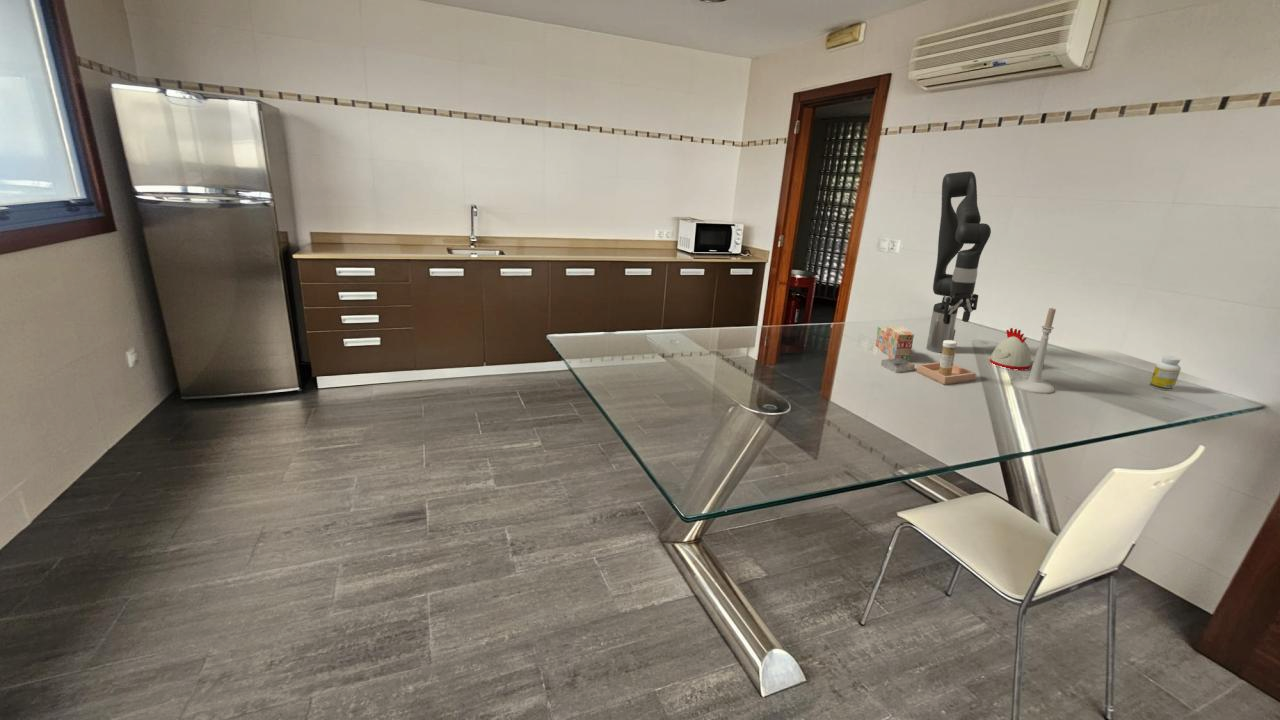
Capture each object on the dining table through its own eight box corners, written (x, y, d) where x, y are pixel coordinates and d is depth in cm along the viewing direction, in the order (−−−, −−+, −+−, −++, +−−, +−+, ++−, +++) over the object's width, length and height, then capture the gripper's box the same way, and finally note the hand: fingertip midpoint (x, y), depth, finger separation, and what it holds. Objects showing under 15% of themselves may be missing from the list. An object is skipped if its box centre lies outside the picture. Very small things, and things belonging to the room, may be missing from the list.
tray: (945, 368, 215) (946, 361, 214) (974, 380, 203) (976, 373, 202) (916, 372, 212) (917, 364, 211) (944, 384, 199) (945, 377, 198)
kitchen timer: (1006, 357, 227) (1014, 323, 222) (1038, 368, 214) (1047, 332, 209) (981, 361, 223) (989, 326, 218) (1012, 372, 210) (1021, 336, 205)
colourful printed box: (874, 346, 243) (878, 319, 239) (888, 346, 243) (892, 319, 239) (894, 362, 223) (898, 334, 219) (909, 362, 223) (914, 334, 219)
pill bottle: (1159, 383, 198) (1169, 354, 194) (1178, 390, 192) (1189, 360, 188) (1144, 385, 197) (1154, 355, 193) (1163, 391, 191) (1173, 361, 187)
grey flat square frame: (898, 363, 221) (899, 357, 220) (913, 370, 213) (914, 364, 213) (880, 365, 219) (881, 359, 218) (895, 372, 211) (896, 366, 210)
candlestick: (1063, 392, 191) (1085, 311, 181) (1031, 395, 189) (1052, 313, 179) (1033, 379, 203) (1052, 302, 193) (1003, 381, 201) (1021, 304, 191)
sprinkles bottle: (943, 371, 210) (948, 339, 206) (954, 375, 206) (959, 341, 202) (935, 373, 208) (940, 340, 204) (946, 377, 204) (952, 343, 200)
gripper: (971, 276, 199) (962, 318, 205) (939, 279, 196) (932, 321, 201) (988, 280, 193) (979, 323, 198) (956, 283, 189) (948, 327, 195)
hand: (955, 322), depth 200 cm, fingers open, 8 cm apart
